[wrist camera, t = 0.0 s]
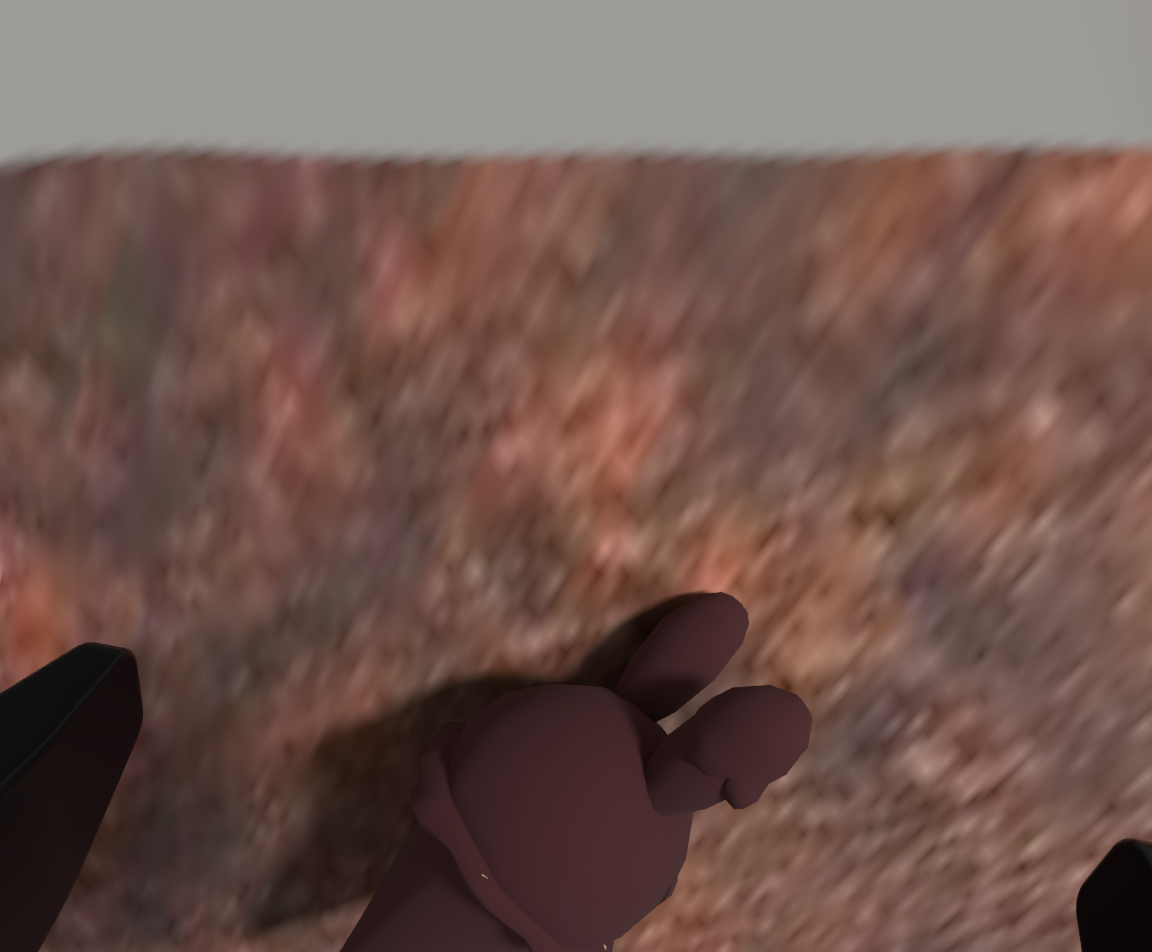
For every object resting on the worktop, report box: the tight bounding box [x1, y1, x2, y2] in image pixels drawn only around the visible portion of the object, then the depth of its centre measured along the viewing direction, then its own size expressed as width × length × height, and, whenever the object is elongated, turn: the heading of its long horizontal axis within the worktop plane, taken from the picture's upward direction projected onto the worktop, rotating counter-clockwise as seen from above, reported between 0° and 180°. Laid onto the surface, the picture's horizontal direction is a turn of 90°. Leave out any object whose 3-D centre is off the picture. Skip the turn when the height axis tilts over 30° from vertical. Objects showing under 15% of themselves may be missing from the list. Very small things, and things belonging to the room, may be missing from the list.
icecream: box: [340, 592, 812, 952], centre depth 24 cm, size 7×7×15 cm
